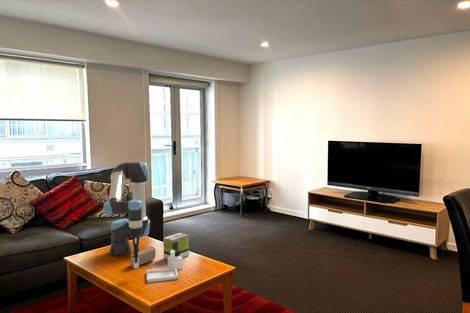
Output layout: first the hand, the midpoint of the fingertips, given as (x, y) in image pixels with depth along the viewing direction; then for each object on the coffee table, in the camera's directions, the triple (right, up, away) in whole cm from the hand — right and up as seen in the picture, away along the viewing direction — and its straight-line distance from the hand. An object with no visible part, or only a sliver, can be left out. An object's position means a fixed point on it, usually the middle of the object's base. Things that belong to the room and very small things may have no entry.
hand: (136, 265), depth 201 cm
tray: (+14, -8, +4) cm, 17 cm away
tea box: (+17, -6, +37) cm, 41 cm away
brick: (-3, -7, +25) cm, 26 cm away
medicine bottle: (+20, -8, +17) cm, 27 cm away
